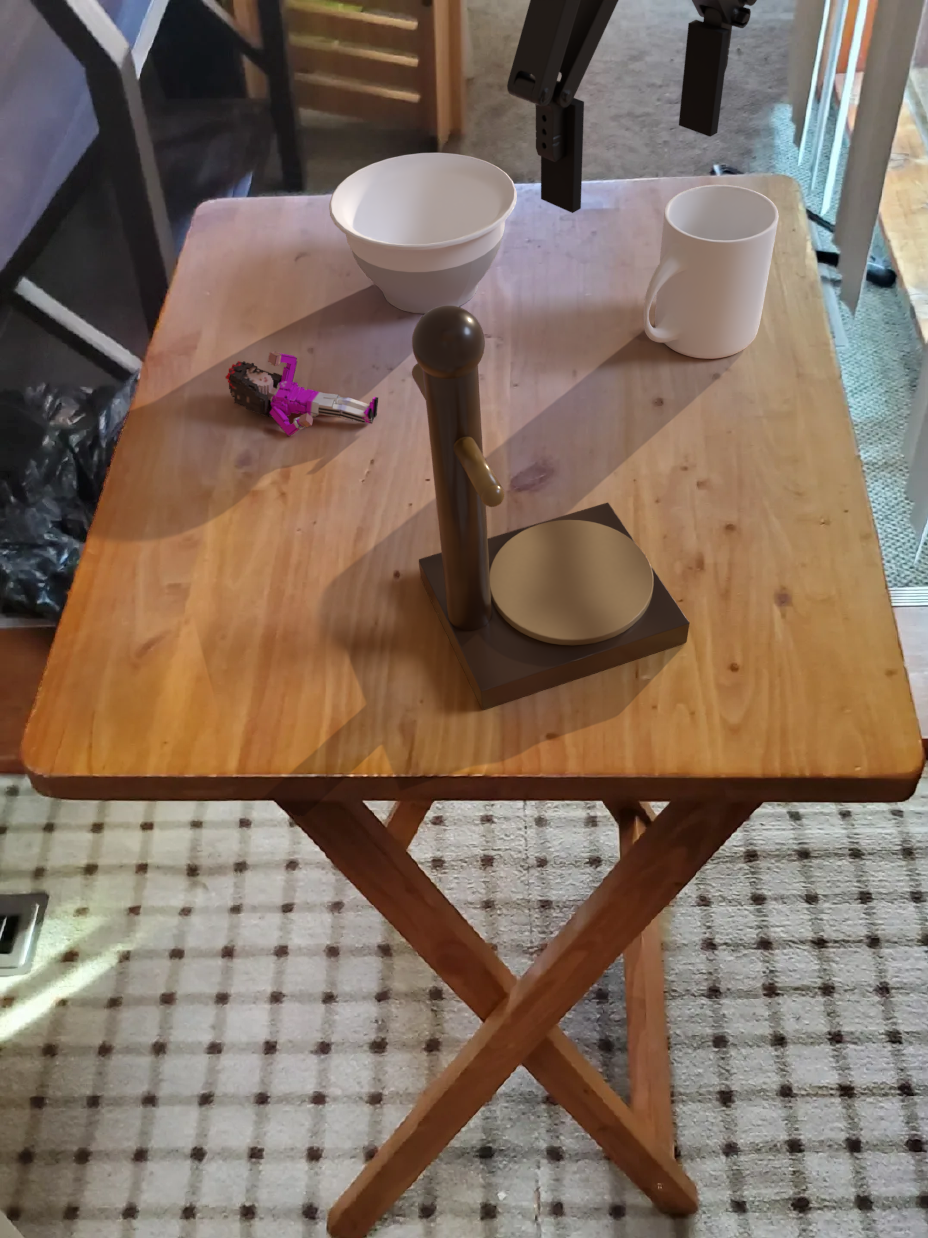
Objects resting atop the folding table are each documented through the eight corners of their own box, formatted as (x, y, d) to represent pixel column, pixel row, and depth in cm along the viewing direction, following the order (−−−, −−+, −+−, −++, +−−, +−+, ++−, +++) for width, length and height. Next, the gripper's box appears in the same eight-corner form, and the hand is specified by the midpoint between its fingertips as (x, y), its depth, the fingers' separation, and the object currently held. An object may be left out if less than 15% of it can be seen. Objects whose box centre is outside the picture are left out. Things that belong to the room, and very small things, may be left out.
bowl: (384, 229, 104) (374, 142, 98) (541, 252, 100) (541, 163, 94) (313, 321, 95) (296, 231, 88) (483, 351, 90) (479, 259, 84)
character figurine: (383, 409, 88) (241, 382, 89) (383, 359, 84) (234, 331, 85) (364, 456, 84) (217, 428, 85) (363, 406, 80) (209, 377, 81)
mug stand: (606, 521, 76) (626, 196, 58) (687, 644, 69) (740, 314, 50) (415, 579, 74) (373, 258, 55) (478, 713, 66) (453, 392, 48)
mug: (602, 346, 90) (608, 227, 82) (703, 291, 94) (718, 173, 86) (677, 393, 85) (690, 272, 77) (779, 333, 90) (803, 212, 82)
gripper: (748, -295, 62) (705, 87, 78) (427, -203, 51) (453, 218, 67) (863, -283, 58) (793, 116, 74) (542, -181, 47) (541, 260, 63)
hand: (632, 165), depth 70 cm, fingers open, 13 cm apart
